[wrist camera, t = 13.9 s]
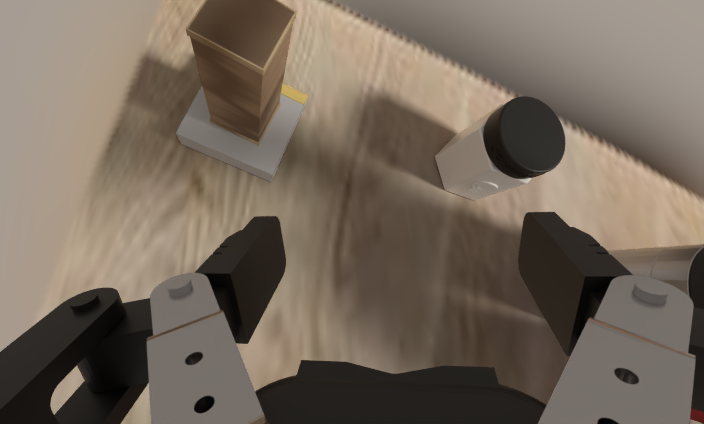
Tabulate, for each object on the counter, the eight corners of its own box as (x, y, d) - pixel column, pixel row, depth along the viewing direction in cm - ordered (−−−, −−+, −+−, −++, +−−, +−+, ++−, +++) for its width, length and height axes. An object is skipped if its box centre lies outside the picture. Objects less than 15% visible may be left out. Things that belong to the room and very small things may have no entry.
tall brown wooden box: (280, 105, 37) (296, 11, 24) (258, 145, 36) (263, 70, 23) (233, 81, 36) (224, -30, 23) (210, 121, 35) (185, 28, 22)
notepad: (304, 107, 41) (308, 94, 38) (271, 182, 39) (273, 174, 36) (222, 68, 39) (219, 51, 36) (181, 144, 37) (175, 132, 34)
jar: (428, 186, 44) (490, 156, 33) (439, 129, 46) (501, 82, 35) (488, 207, 46) (565, 185, 35) (496, 151, 48) (573, 114, 37)
